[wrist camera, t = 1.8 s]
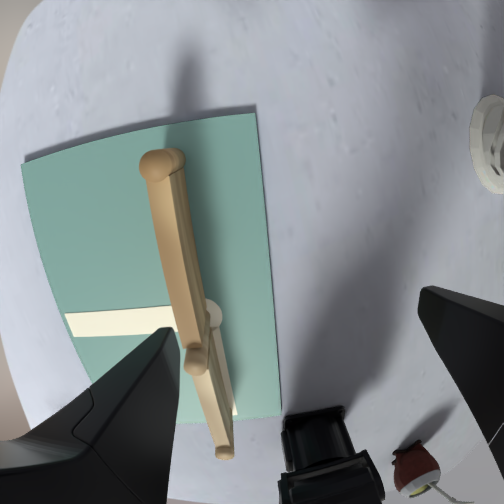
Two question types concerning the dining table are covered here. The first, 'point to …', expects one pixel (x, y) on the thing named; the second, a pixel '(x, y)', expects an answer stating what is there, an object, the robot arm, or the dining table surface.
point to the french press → (488, 142)
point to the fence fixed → (212, 392)
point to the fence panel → (176, 240)
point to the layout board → (148, 258)
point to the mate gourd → (417, 472)
